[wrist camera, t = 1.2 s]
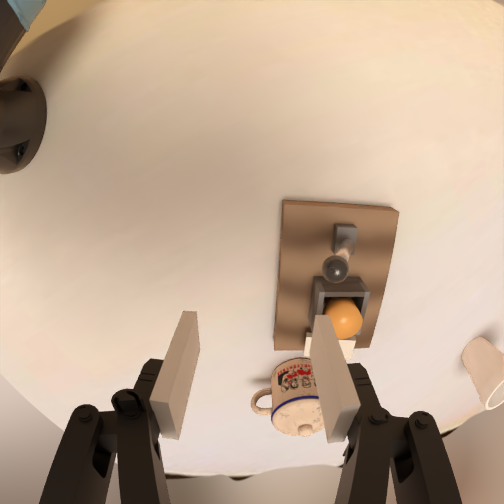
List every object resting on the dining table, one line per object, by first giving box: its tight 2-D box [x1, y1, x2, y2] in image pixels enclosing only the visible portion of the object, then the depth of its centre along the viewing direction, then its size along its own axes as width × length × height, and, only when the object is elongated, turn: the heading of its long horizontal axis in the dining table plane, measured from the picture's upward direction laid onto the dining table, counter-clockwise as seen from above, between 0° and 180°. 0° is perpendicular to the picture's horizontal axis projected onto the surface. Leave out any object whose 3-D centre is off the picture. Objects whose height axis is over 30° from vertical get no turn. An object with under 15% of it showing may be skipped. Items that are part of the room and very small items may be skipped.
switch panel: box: [274, 200, 399, 350], centre depth 35 cm, size 20×14×6 cm
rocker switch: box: [303, 332, 356, 360], centre depth 36 cm, size 3×6×1 cm, turn 89°
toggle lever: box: [322, 239, 354, 283], centre depth 27 cm, size 2×2×9 cm
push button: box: [323, 297, 363, 339], centre depth 32 cm, size 4×4×3 cm
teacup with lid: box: [251, 359, 325, 437], centre depth 39 cm, size 12×9×12 cm
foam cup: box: [461, 337, 504, 410], centre depth 37 cm, size 10×9×13 cm
